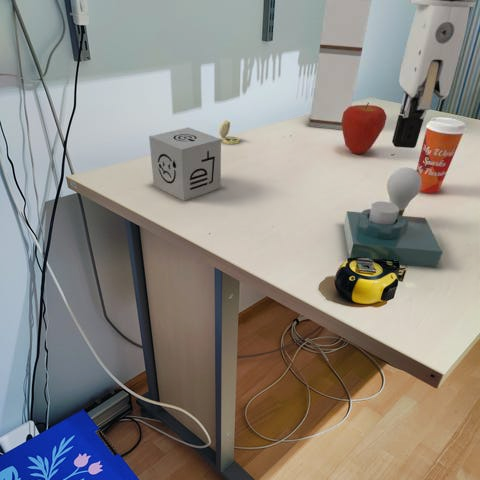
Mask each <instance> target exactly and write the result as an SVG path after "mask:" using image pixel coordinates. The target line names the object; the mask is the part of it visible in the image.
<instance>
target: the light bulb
mask: <svg viewBox="0 0 480 480" xmlns="http://www.w3.org/2000/svg"><path fill="white" fill-rule="evenodd" d="M416 170H417V169H414V168H413V167H409V166H408V167H407V166H406V167H400V168H398V169H396V170H395V171H393V172H392V173H391V175H390V176H389V178H388V180H387V183H386V190H387V194H388V197H389V203H392V204H395V205H396V206H398V207H399V212H398V214H399V215H400V216H404V212H405V211H406V208H407V207H408V206H409V204H410V202H411V201H413V200H414V198H416V197H417V196H418V195H419V193H420V192H419V191H420V189H421V185H422V180H421V177H420V175H419V173H418V172H417V171H416Z"/></svg>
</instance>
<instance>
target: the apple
mask: <svg viewBox="0 0 480 480" xmlns="http://www.w3.org/2000/svg"><path fill="white" fill-rule="evenodd" d="M386 122H387V114H386V112H385V109H384V108H382V107H381V106H378V105H373V104H372V105H371V104H370V103H369V102H367V104H361V105H360V104H358V105H357V104H356V105H351V107H348V108H347V109H346V110H345V111H344V113H343V117H342V129H343V130H342V136H343V140H344V145H345V146H346V148H347V149H348V150H349V151H350V152H351V153H352V154H355V155H363V154H365V153H366V152H368V151H369V150H370V149H372V147H373V146H374V144H375V143H376V142H377V140H378V138H379V136H380V135H381V133H382V131H383V129H384V128H385V126H386Z"/></svg>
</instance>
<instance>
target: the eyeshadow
mask: <svg viewBox="0 0 480 480" xmlns="http://www.w3.org/2000/svg"><path fill="white" fill-rule="evenodd" d="M230 129H231V122H230V121H229V120H224V121H223V122H222V123H221V125H220V127H219V131H218V134H219V136H220V138H222V142H223V143H224V144H228V145H236V144H239V143H240V138H239V137H237V136H232V135H231V136H230V135H229V132H230ZM228 135H229V136H228Z"/></svg>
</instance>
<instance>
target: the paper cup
mask: <svg viewBox="0 0 480 480" xmlns="http://www.w3.org/2000/svg"><path fill="white" fill-rule="evenodd" d="M425 128H426V129H425V130H426V131H425V134H424V137H423V138H424V139H423V141H422V145H421V150H420V154H419V158H418V162H417V166H416V169H415V170H416V171H417V172H418V173H419V175H420V177H421V180H422V185H421V189H420V191H419V193H424V194H430V195H431V194H437V193H438V192H440V189H441V186H442V185H443V182H444V180H445V177H446V175H447V172H448V170H449V168H450V165H451V163H452V161H453V158H454V156H455V153H456V151H457V149H458V147H459V144H460V143H461V142H460V141H461V140H462V137H463V135H464V134H466V133H467V126H466V123H465V122H464V121H462V120H459V119H455V118H451V117H442V116H441V117H439V116H438V117H432V118H430V121H428V122H427V124H426V125H425Z"/></svg>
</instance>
